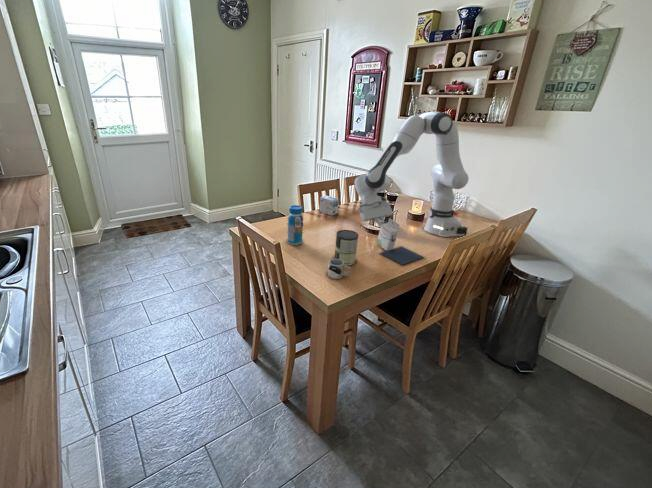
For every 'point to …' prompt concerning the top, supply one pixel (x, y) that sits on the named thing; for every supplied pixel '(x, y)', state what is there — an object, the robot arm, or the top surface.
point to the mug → (337, 269)
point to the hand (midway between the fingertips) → (382, 225)
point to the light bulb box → (329, 205)
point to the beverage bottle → (295, 225)
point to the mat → (402, 255)
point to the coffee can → (346, 246)
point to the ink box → (388, 235)
